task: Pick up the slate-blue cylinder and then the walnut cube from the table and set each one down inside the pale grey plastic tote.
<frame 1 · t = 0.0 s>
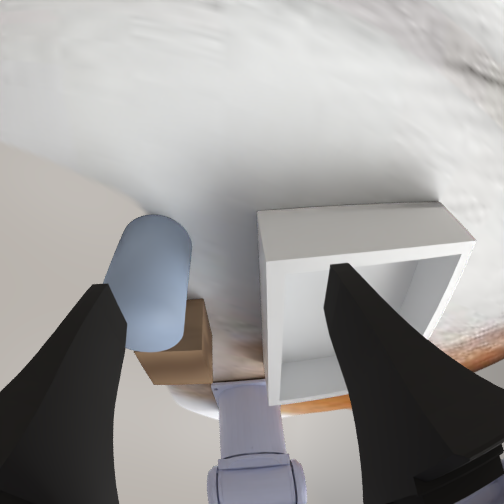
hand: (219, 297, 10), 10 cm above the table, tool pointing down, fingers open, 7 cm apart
blue cylinder: (156, 245, 21), on the table
walnut cube: (179, 319, 26), on the table
tote: (342, 297, 26), on the table
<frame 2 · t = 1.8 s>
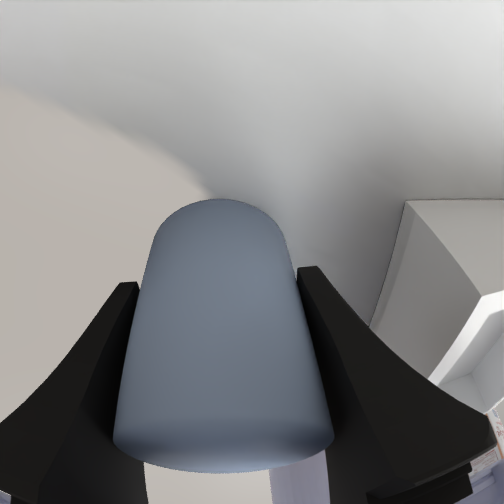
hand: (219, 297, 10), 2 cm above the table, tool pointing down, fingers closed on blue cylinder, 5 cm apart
cracker box: (461, 393, 27), on the table
blue cylinder: (218, 259, 11), on the table, touching gripper
tote: (457, 323, 16), on the table
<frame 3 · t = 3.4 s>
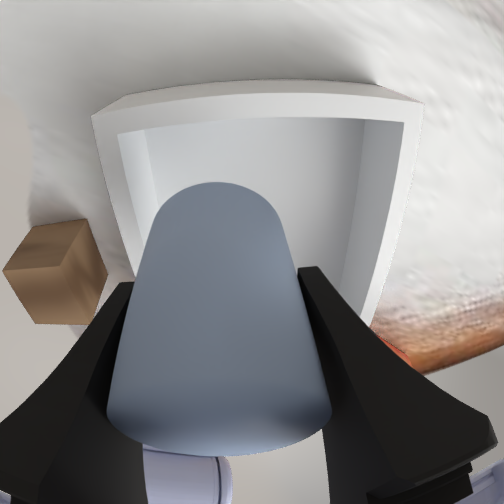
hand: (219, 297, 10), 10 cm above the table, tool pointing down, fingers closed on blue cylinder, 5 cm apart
blue cylinder: (216, 243, 12), point 7 cm above the table, touching gripper
walnut cube: (70, 250, 20), on the table
tote: (259, 222, 20), on the table
when the fingers open (5 cm above the table, at t = 4.9 s): blue cylinder drops 2 cm, resting on tote.
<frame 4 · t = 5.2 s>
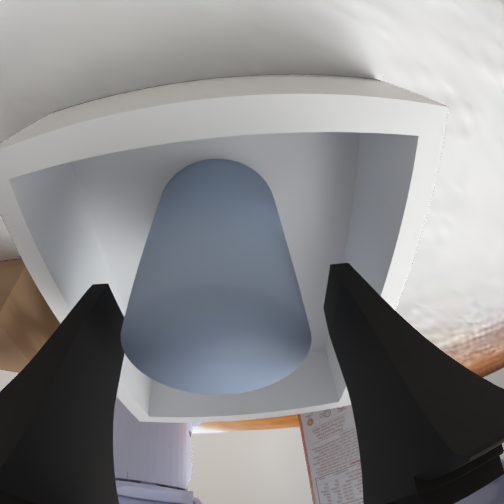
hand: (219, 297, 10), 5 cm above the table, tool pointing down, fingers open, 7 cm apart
cracker box: (359, 382, 27), on the table
blue cylinder: (217, 213, 13), point 1 cm above the table, touching tote
walnut cube: (22, 288, 16), on the table
tote: (225, 261, 16), on the table
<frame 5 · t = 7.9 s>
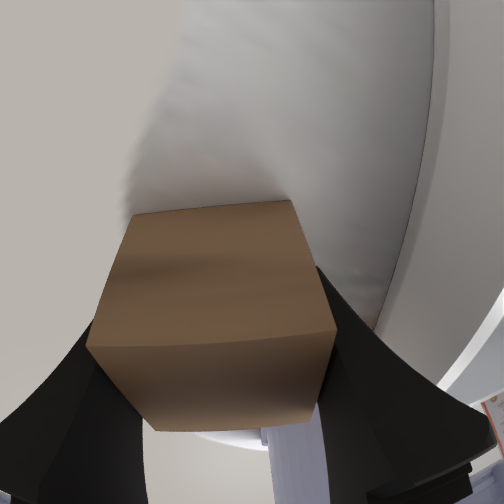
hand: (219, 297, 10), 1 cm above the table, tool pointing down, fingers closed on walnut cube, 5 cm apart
cracker box: (497, 360, 22), on the table
walnut cube: (218, 268, 11), on the table, touching gripper
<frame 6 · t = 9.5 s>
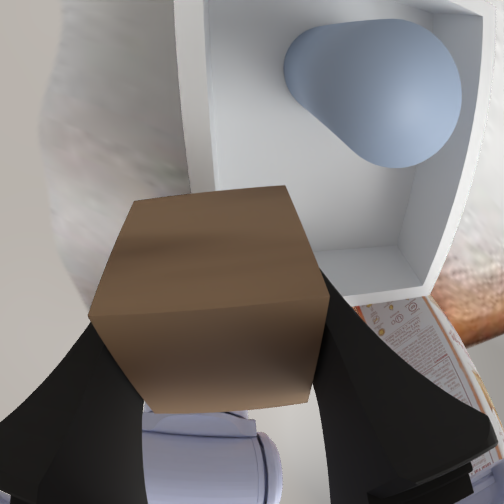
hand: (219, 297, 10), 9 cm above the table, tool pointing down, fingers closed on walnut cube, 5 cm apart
cracker box: (410, 309, 27), on the table
blue cylinder: (332, 71, 13), point 1 cm above the table, touching tote
walnut cube: (216, 253, 11), point 7 cm above the table, touching gripper
tote: (325, 127, 16), on the table
when the fingers open (5 cm above the table, at t = 11.2 s): walnut cube drops 2 cm, resting on tote.
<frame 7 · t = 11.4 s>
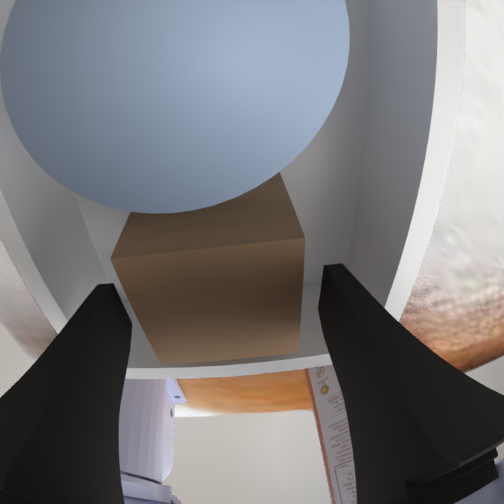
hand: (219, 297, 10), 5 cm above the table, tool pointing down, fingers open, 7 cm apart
cracker box: (379, 347, 22), on the table
blue cylinder: (198, 46, 9), point 1 cm above the table, touching tote
walnut cube: (218, 223, 13), point 1 cm above the table, touching tote
tote: (209, 130, 11), on the table
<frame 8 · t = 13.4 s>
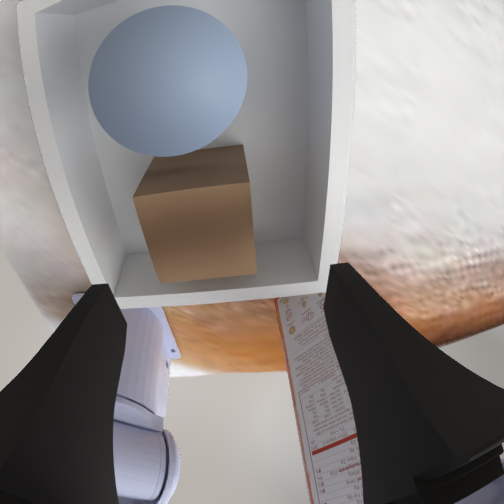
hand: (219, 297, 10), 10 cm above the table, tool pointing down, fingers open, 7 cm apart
cracker box: (347, 307, 27), on the table
blue cylinder: (188, 67, 13), point 1 cm above the table, touching tote
walnut cube: (203, 189, 18), point 1 cm above the table, touching tote
tote: (197, 123, 16), on the table
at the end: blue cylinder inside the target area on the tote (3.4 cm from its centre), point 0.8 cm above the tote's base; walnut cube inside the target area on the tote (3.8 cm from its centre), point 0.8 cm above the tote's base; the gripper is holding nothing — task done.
